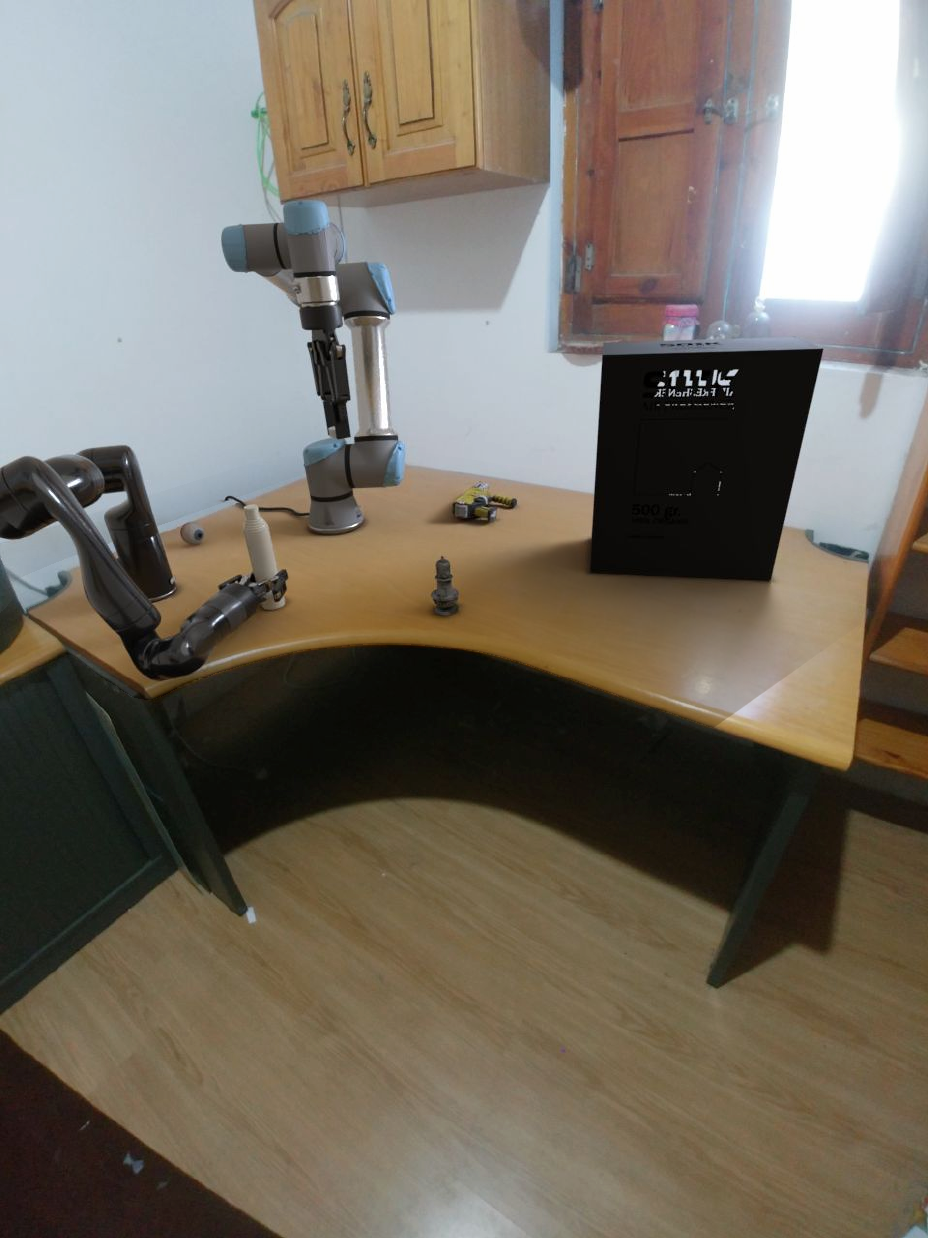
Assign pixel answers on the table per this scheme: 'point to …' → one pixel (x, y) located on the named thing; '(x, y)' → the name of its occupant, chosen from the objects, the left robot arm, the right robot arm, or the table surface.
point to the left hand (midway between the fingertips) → (273, 572)
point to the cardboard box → (698, 455)
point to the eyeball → (192, 533)
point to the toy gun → (479, 503)
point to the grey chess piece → (444, 590)
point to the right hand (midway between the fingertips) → (339, 435)
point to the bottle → (260, 551)
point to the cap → (332, 432)
